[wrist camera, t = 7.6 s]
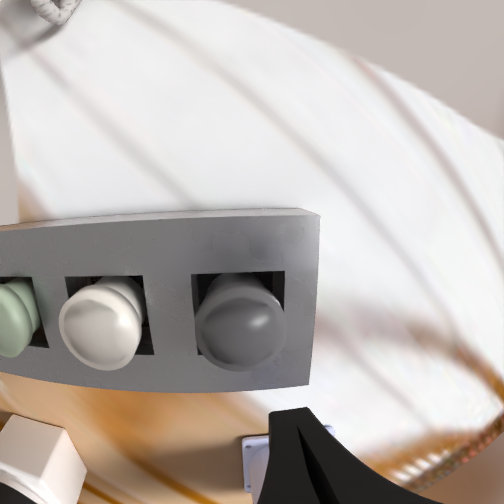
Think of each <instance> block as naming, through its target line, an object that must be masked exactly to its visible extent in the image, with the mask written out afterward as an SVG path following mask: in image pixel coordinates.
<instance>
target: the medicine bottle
mask: <svg viewBox="0 0 504 504" xmlns="http://www.w3.org/2000/svg"><path fill="white" fill-rule="evenodd" d="M86 473H87V468H86V467H85V465H84V463H83V462H82V460H81V458H80V456H79V454H78V453H77V451H76V449H75V447H74V445H73V443H72V441H71V439H70V437H69V435H68V433H67V431H66V430H65V429H64V428H61V427H56V426H52V425H49V424H45V423H41V422H38V421H34V420H31V419H27V418H24V417H21V416H18V415H15V414H13V415H12V416H11V417H10V419H9V420H8V422H7V423H6V425H5V426H4V428H3V429H2V431H1V432H0V504H77V501H78V498H79V495H80V492H81V488H82V485H83V482H84V479H85V476H86Z"/></svg>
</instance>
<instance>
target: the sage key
mask: <svg viewBox="0 0 504 504" xmlns="http://www.w3.org/2000/svg"><path fill="white" fill-rule="evenodd" d="M42 324H43V323H42V320H41V316H40V312H39V308H38V304H37V299H36V295H35V290H34V285H33V280H32V277H16V278H14V279H12V280H11V281H9V282H7V283H6V284H4V285H3V284H0V355H2V356H4V357H8V358H13V357H16V356H18V355H19V354H20V353H21V352H22V351H23V350H24V349H25V348H26V347H27V346H28V345H29V343H30V342H31V339H32V336H33V333H34V332H35V331H36V330H37V329H38V328H39V327H40V326H41V325H42Z"/></svg>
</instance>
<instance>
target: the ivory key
mask: <svg viewBox="0 0 504 504" xmlns="http://www.w3.org/2000/svg"><path fill="white" fill-rule="evenodd" d="M146 314H147V305H146V298H145V294H144V292H143V290H142V288H141V287H140V286H139V285H138V284H137V283H136V282H135V281H134V280H132V279H131V278H129V277H127V276H104V277H102V278H101V279H100V280H98V281H97V282H96V283H95V284H94V285H90V286H86V287H84V288H82V289H80V290H79V291H78V292H77V293H75V294H74V295H73V296H72V297H71V298H70V299H69V300H67V301H66V302H65V304H64V305H63V307H62V309H61V311H60V315H59V329H60V333H61V336H62V339H63V341H64V343H65V344H66V346H67V348H68V349H69V350H70V352H71V353H72V354H73V355H74V356H75V357H76V358H77V359H79V360H80V361H81V362H83V363H84V364H86V365H88V366H90V367H92V368H95V369H99V370H105V371H110V370H116V369H120V368H122V367H124V366H125V365H127V364H128V363H129V362H130V360H131V359H132V358H133V356H134V354H135V351H136V349H137V347H138V345H139V342H140V339H141V335H142V327H141V325H142V323H143V321H144V319H145V317H146Z"/></svg>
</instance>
